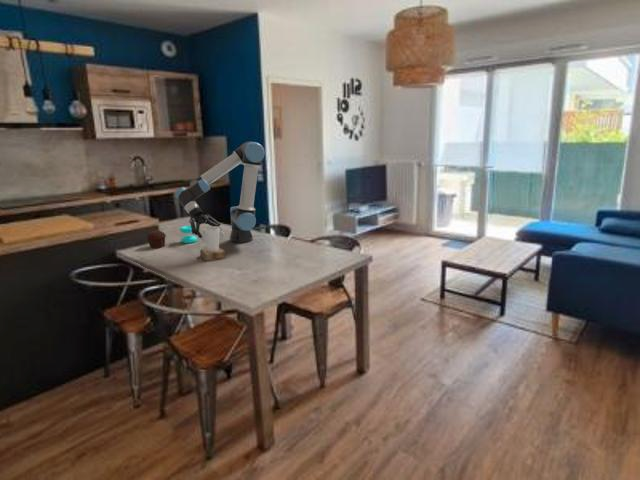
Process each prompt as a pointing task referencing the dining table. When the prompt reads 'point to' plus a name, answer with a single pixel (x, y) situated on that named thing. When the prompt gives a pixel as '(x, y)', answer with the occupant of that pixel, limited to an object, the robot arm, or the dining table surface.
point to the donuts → (187, 238)
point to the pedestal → (212, 254)
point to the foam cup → (212, 238)
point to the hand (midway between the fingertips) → (214, 238)
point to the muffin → (156, 239)
